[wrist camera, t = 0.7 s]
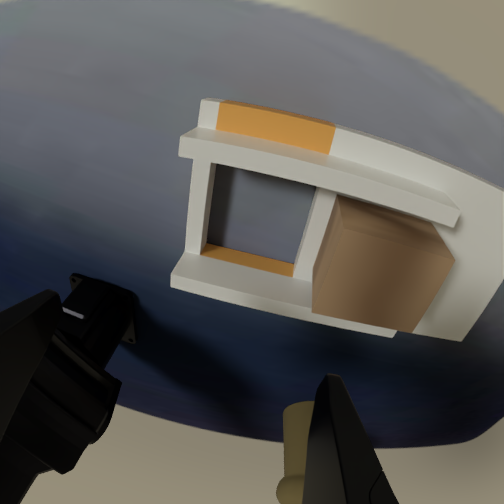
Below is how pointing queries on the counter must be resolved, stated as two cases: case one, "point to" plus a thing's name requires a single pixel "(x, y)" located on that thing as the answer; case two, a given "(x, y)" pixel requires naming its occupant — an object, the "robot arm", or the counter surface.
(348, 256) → the walnut block
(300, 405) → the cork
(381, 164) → the white mounting bracket
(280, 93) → the counter surface
